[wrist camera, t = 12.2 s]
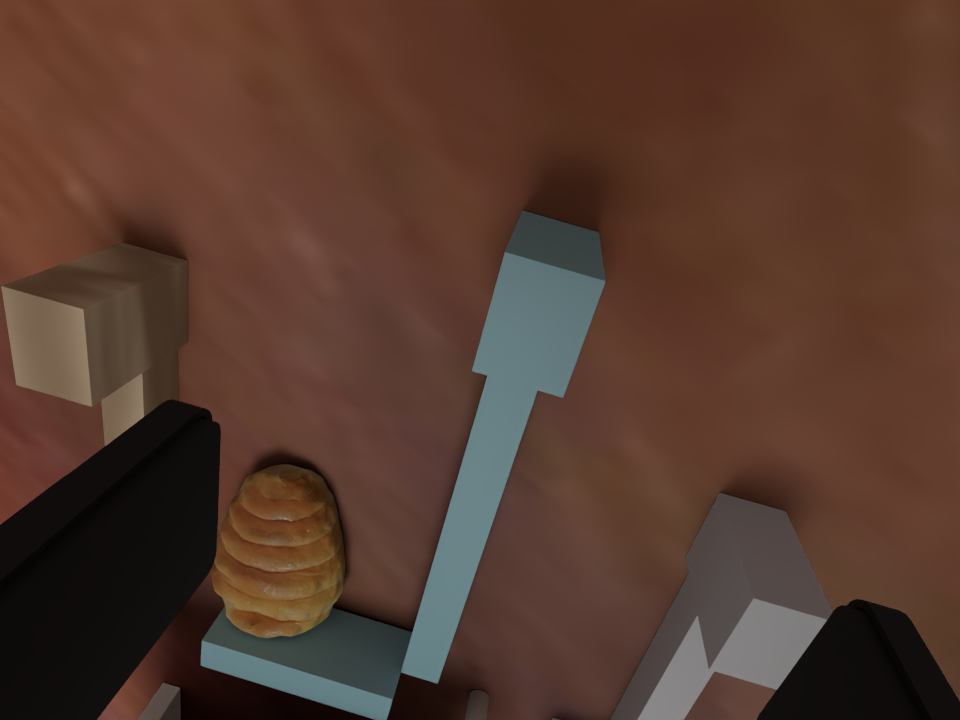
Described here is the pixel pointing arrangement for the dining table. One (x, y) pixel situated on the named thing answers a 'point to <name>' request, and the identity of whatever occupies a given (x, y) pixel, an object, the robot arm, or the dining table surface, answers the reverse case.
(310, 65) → the dining table surface
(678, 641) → the tee stick
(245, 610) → the pastry
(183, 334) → the brown angular wooden piece
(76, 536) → the robot arm
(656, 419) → the dining table surface
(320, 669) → the blue-grey long flat part
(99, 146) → the dining table surface
